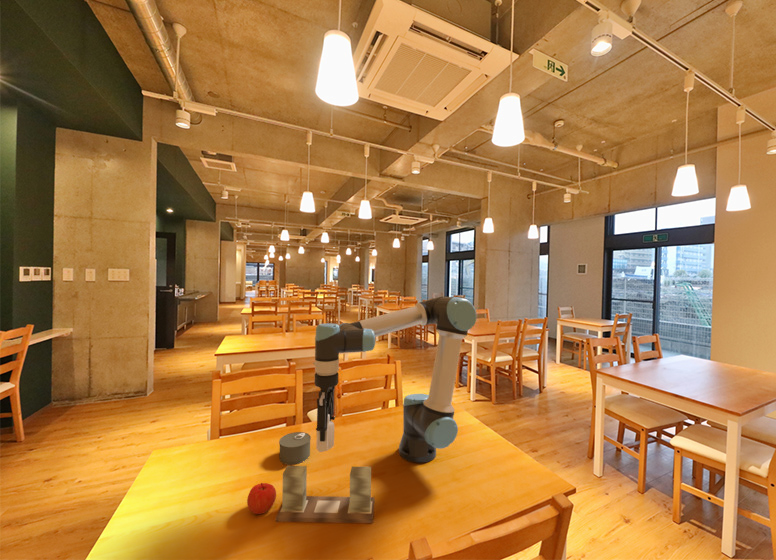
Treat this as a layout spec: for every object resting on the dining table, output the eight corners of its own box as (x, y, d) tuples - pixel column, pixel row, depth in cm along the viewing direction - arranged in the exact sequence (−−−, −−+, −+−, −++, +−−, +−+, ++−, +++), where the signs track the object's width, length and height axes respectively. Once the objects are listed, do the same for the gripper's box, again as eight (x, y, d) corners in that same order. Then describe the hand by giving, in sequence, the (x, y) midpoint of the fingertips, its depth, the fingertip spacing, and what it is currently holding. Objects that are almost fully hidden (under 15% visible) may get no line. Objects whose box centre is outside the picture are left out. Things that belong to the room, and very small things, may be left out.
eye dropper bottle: (315, 445, 100) (316, 408, 99) (333, 442, 101) (334, 407, 101) (316, 453, 96) (317, 415, 95) (334, 450, 97) (335, 413, 97)
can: (272, 461, 119) (272, 443, 119) (292, 446, 130) (292, 429, 130) (297, 468, 114) (297, 449, 114) (316, 452, 126) (316, 435, 126)
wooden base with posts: (374, 501, 97) (374, 462, 97) (372, 523, 88) (373, 480, 88) (286, 499, 98) (286, 460, 98) (275, 521, 89) (276, 478, 89)
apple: (241, 519, 89) (242, 491, 90) (255, 499, 97) (255, 474, 98) (268, 520, 89) (269, 492, 89) (279, 501, 97) (280, 475, 97)
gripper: (322, 364, 108) (321, 431, 107) (306, 380, 90) (304, 461, 89) (343, 365, 108) (342, 432, 107) (331, 381, 90) (330, 462, 89)
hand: (325, 445), depth 98 cm, fingers closed on eye dropper bottle, 5 cm apart
